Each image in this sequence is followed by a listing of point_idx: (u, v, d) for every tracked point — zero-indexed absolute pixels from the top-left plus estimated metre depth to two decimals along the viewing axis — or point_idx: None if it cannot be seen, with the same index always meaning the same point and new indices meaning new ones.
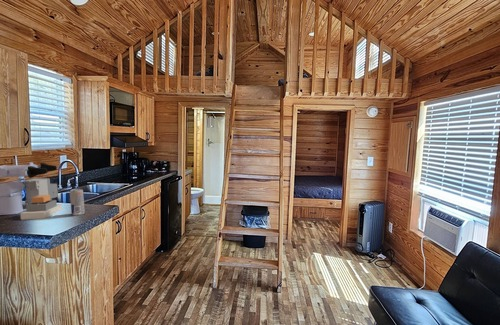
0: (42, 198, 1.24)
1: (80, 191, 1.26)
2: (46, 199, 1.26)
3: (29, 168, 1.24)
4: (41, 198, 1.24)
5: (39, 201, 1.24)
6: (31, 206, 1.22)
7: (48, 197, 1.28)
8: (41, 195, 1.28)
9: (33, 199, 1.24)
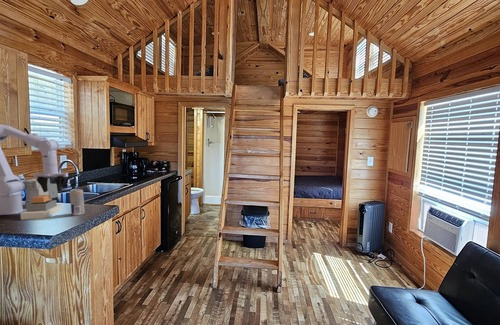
0: (42, 198, 1.24)
1: (80, 191, 1.26)
2: (46, 199, 1.26)
3: None
4: (41, 198, 1.24)
5: (39, 201, 1.24)
6: (31, 206, 1.22)
7: (48, 197, 1.28)
8: (41, 195, 1.28)
9: (33, 199, 1.24)
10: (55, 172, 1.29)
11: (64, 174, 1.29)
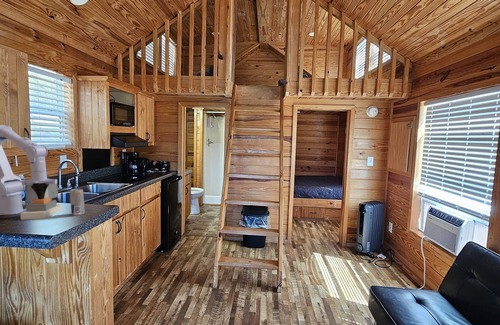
0: (42, 201, 1.24)
1: (80, 191, 1.26)
2: (46, 202, 1.27)
3: None
4: (41, 201, 1.24)
5: None
6: (31, 206, 1.22)
7: (48, 200, 1.28)
8: None
9: (33, 201, 1.24)
10: (44, 179, 1.25)
11: (53, 181, 1.25)
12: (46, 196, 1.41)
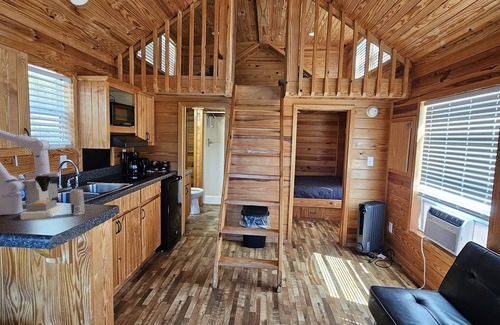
0: None
1: (80, 191, 1.26)
2: None
3: None
4: None
5: None
6: (31, 206, 1.22)
7: None
8: (42, 201, 1.28)
9: None
10: (47, 172, 1.30)
11: (56, 174, 1.31)
12: (46, 196, 1.41)
